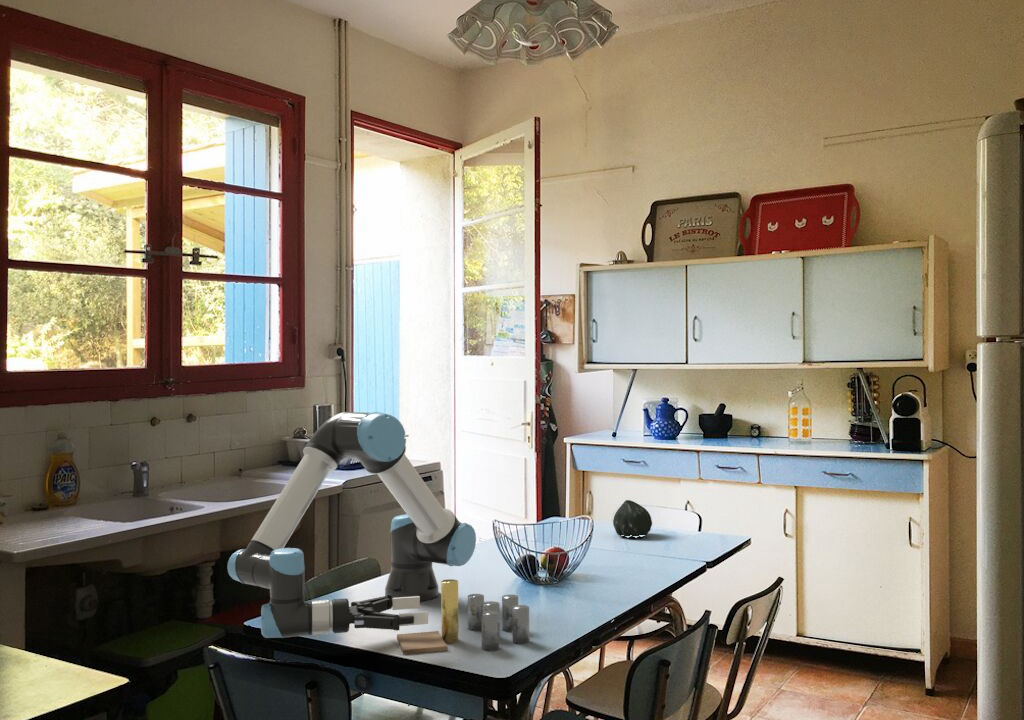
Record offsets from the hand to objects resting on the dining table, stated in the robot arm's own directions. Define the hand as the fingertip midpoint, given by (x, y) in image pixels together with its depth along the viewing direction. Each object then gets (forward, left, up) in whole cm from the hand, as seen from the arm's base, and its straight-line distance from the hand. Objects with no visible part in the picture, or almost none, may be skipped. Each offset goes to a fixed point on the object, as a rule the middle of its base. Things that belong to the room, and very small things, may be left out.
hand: (423, 609), depth 205 cm
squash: (-107, +96, -8) cm, 144 cm away
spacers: (0, +18, -8) cm, 20 cm away
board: (+1, -1, -8) cm, 8 cm away
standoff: (0, +6, -8) cm, 10 cm away
